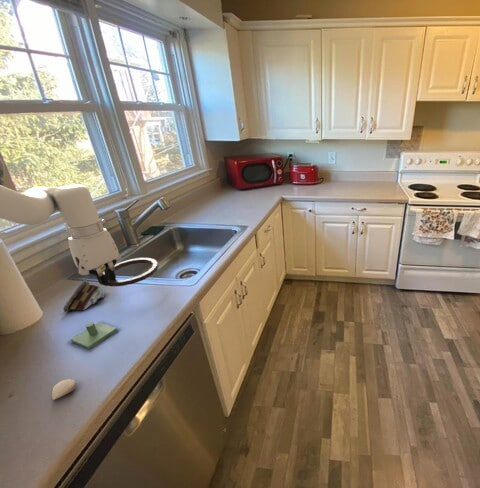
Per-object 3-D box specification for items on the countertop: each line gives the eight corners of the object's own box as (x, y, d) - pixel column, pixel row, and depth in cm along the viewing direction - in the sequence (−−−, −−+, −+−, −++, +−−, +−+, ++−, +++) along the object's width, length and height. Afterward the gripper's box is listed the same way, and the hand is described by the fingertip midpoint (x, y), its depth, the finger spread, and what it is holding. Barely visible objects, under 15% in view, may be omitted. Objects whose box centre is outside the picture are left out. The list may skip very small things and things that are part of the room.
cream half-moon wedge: (81, 383, 69) (77, 376, 68) (65, 402, 64) (60, 395, 63) (63, 384, 69) (59, 377, 68) (46, 403, 64) (41, 396, 63)
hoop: (90, 280, 90) (89, 276, 89) (136, 258, 103) (135, 254, 103) (124, 290, 85) (123, 286, 84) (168, 265, 98) (167, 262, 97)
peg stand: (71, 341, 81) (65, 330, 79) (100, 324, 88) (94, 312, 86) (89, 349, 79) (83, 337, 77) (117, 330, 85) (112, 319, 84)
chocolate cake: (84, 316, 92) (100, 280, 96) (60, 311, 91) (78, 276, 95) (100, 317, 101) (114, 285, 105) (79, 313, 100) (94, 280, 104)
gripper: (105, 218, 87) (124, 268, 96) (45, 237, 74) (73, 294, 82) (122, 221, 85) (140, 272, 93) (63, 242, 72) (90, 300, 80)
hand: (108, 282), depth 88 cm, fingers closed on hoop, 1 cm apart
